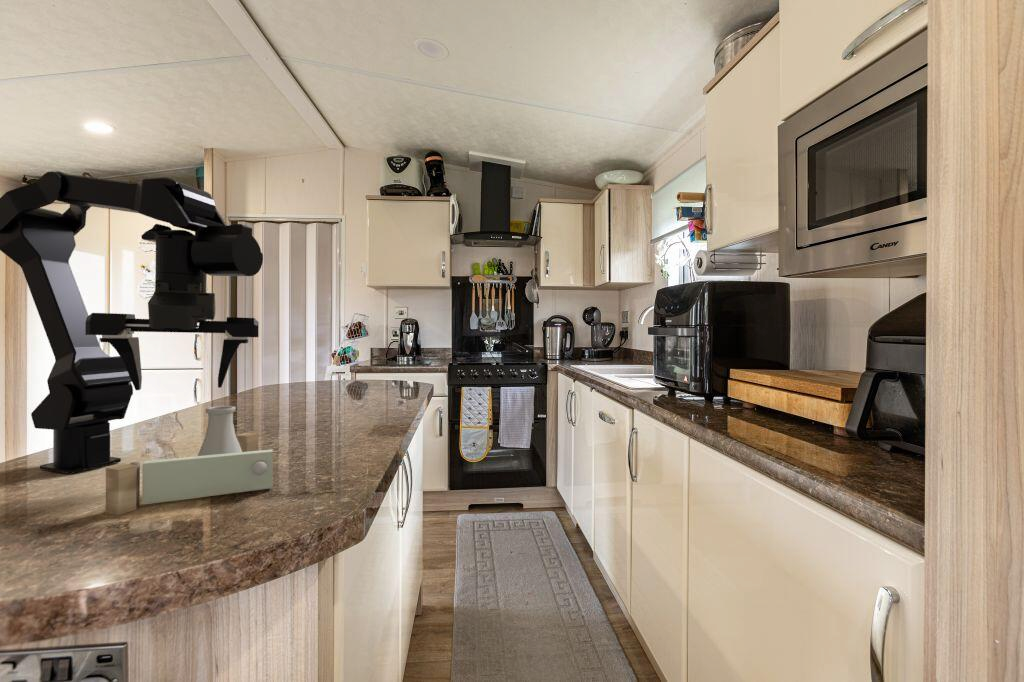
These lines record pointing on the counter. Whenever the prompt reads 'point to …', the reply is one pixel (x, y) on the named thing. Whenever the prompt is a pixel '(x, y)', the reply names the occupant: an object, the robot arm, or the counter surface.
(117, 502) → the door frame
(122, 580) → the counter surface
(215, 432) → the flask
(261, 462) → the door
